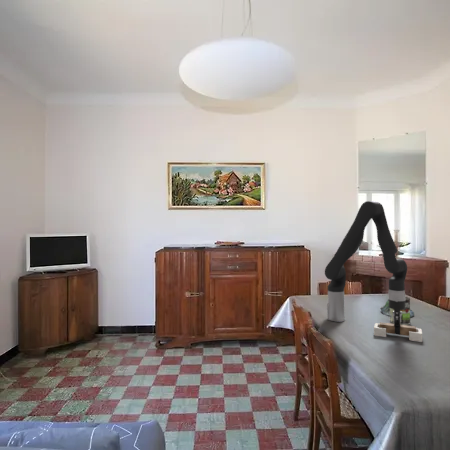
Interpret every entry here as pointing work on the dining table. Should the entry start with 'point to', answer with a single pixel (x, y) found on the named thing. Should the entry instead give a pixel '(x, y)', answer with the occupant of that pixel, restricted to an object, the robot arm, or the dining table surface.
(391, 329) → the slat
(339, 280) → the robot arm
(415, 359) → the dining table surface
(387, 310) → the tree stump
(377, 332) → the end caps
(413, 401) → the dining table surface
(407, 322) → the coffee can
